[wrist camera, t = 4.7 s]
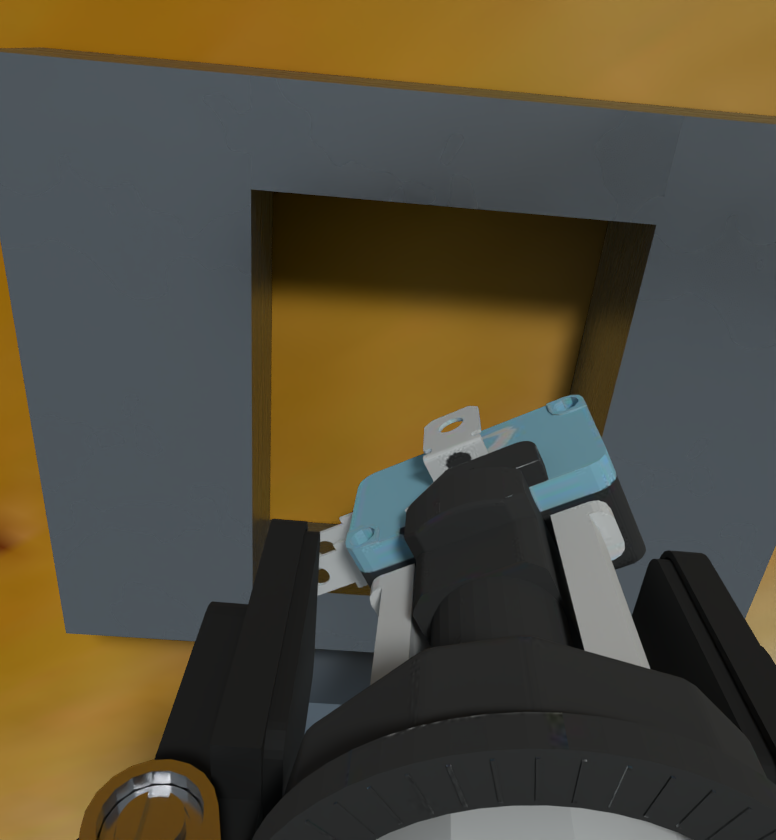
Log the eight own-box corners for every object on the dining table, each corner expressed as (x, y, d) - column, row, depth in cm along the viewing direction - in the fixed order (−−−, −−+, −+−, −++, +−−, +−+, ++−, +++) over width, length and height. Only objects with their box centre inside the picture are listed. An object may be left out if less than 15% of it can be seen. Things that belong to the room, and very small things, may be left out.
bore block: (854, 123, 16) (945, 140, 13) (682, 600, 23) (721, 674, 20) (40, 47, 15) (-32, 49, 13) (105, 561, 22) (66, 633, 19)
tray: (565, 656, 24) (583, 719, 22) (508, 863, 29) (517, 931, 27) (212, 633, 23) (194, 695, 21) (221, 848, 29) (207, 916, 27)
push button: (363, 628, 16) (262, 1310, 7) (245, 433, 14) (-93, 1019, 5) (654, 530, 15) (998, 1245, 6) (563, 298, 13) (856, 800, 4)
